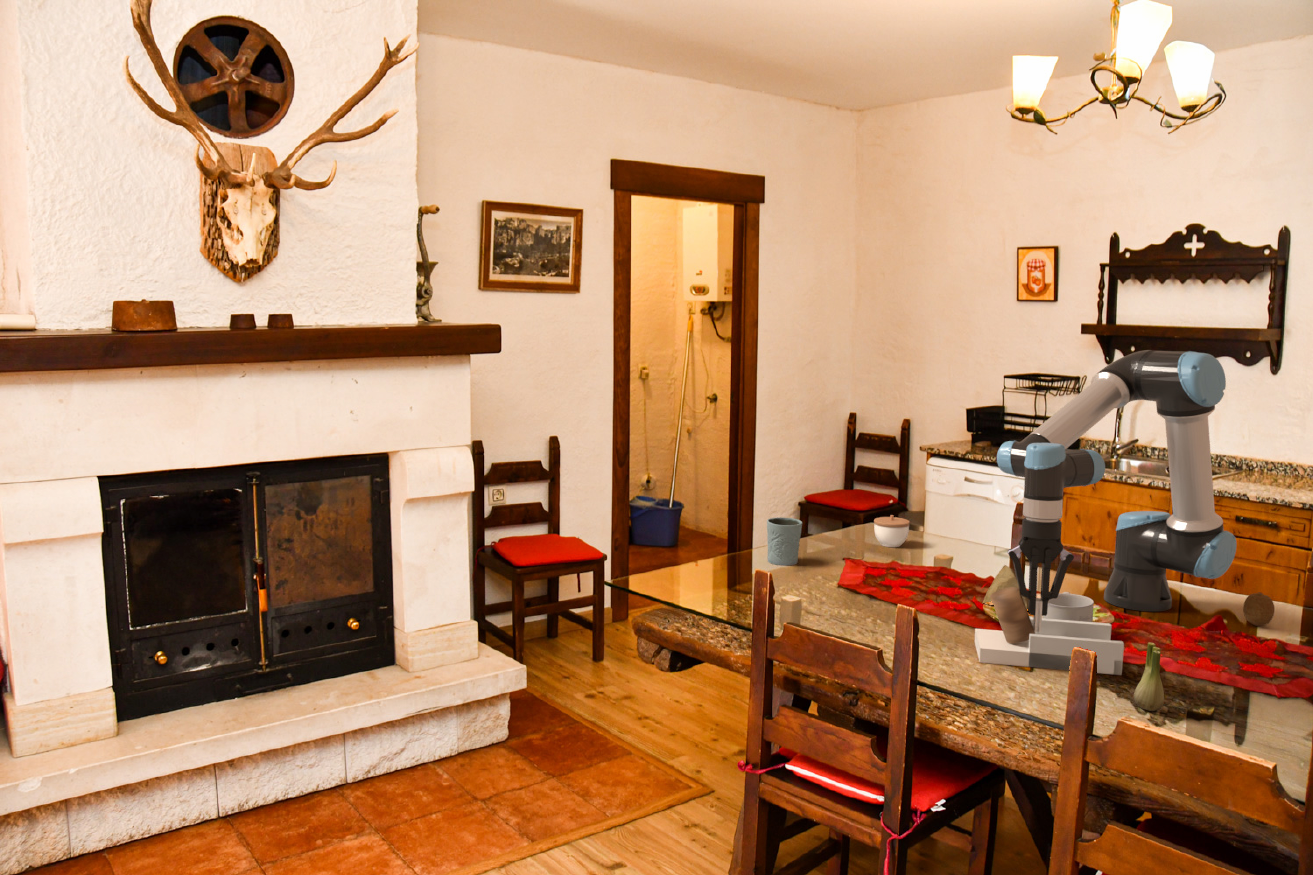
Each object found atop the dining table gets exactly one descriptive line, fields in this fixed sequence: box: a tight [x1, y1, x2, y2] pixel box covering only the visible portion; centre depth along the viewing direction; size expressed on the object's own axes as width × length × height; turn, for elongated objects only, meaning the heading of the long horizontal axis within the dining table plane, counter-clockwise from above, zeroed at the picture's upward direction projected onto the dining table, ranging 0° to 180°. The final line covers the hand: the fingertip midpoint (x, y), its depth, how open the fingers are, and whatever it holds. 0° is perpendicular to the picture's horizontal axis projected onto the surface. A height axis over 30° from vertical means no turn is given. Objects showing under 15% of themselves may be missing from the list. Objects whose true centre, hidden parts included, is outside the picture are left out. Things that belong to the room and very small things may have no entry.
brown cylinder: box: [990, 587, 1035, 643], centre depth 203 cm, size 6×6×10 cm
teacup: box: [1042, 591, 1095, 622], centre depth 220 cm, size 14×11×8 cm
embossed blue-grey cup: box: [766, 516, 803, 567], centre depth 278 cm, size 10×10×12 cm
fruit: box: [1242, 592, 1275, 627], centre depth 225 cm, size 6×6×8 cm
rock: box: [982, 564, 1029, 609], centre depth 237 cm, size 11×9×10 cm
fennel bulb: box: [1133, 642, 1165, 712], centre depth 177 cm, size 6×5×12 cm
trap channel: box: [974, 616, 1125, 676], centre depth 202 cm, size 27×13×6 cm, turn 76°
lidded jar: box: [873, 514, 911, 548], centre depth 300 cm, size 11×11×9 cm
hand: (1036, 629), depth 202 cm, fingers closed
